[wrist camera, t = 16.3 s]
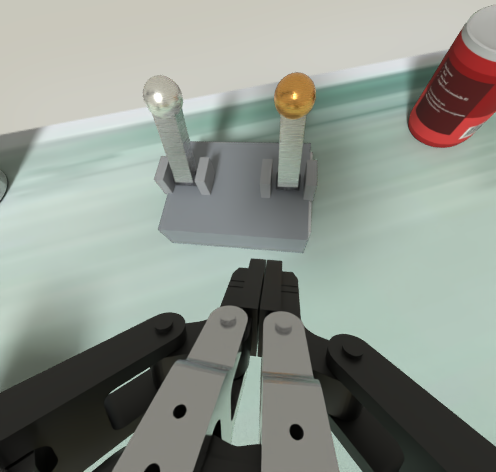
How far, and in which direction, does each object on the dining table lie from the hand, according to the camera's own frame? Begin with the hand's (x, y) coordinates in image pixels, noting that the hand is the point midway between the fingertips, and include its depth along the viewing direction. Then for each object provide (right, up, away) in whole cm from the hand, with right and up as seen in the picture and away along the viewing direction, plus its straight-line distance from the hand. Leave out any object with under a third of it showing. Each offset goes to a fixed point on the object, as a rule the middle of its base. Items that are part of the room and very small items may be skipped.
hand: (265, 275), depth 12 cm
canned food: (+24, +16, +20) cm, 35 cm away
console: (-2, +6, +18) cm, 19 cm away
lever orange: (+3, +8, +13) cm, 15 cm away
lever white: (-8, +8, +15) cm, 18 cm away
